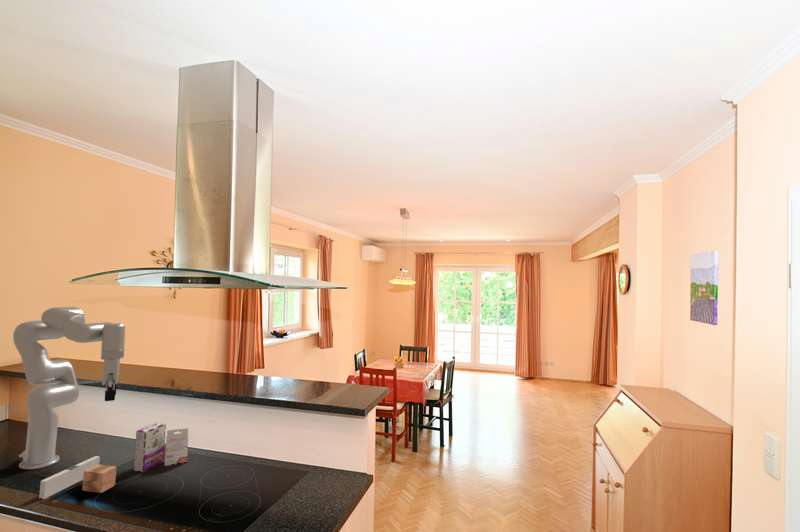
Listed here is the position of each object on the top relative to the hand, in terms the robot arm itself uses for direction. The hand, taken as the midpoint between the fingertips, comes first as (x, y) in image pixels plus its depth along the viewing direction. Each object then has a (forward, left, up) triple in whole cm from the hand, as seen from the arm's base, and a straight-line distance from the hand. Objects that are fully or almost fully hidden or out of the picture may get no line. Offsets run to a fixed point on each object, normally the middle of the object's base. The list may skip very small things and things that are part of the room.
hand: (110, 398), depth 161 cm
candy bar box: (+9, +13, -31) cm, 35 cm away
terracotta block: (+5, -7, -31) cm, 32 cm away
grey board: (-7, -7, -31) cm, 32 cm away
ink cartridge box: (+17, +19, -31) cm, 40 cm away
